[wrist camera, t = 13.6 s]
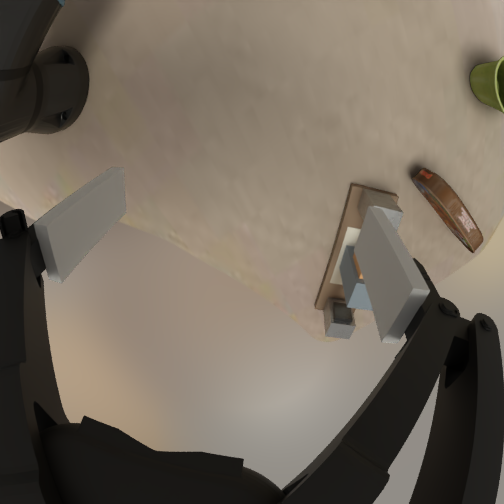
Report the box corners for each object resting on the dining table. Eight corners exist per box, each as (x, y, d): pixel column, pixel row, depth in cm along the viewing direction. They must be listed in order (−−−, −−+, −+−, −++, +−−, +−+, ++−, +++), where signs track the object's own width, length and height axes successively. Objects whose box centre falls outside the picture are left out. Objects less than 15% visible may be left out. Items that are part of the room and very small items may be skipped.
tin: (403, 172, 36) (427, 193, 28) (418, 157, 34) (444, 175, 27) (454, 236, 39) (477, 265, 32) (467, 223, 38) (492, 251, 30)
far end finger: (323, 310, 48) (325, 336, 43) (329, 294, 46) (332, 320, 41) (345, 313, 48) (349, 339, 43) (351, 297, 46) (357, 323, 41)
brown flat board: (314, 304, 49) (314, 309, 48) (351, 183, 38) (352, 186, 37) (352, 309, 49) (353, 314, 48) (396, 194, 37) (398, 197, 36)
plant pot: (508, 115, 27) (543, 126, 19) (465, 115, 29) (500, 126, 22) (499, 57, 22) (534, 59, 15) (454, 52, 25) (488, 50, 17)
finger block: (339, 267, 43) (346, 307, 36) (347, 240, 41) (358, 277, 33) (363, 271, 43) (374, 310, 36) (372, 244, 41) (387, 282, 33)
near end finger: (356, 212, 38) (365, 232, 33) (363, 188, 37) (374, 205, 32) (382, 217, 38) (394, 238, 33) (389, 194, 36) (403, 212, 31)
